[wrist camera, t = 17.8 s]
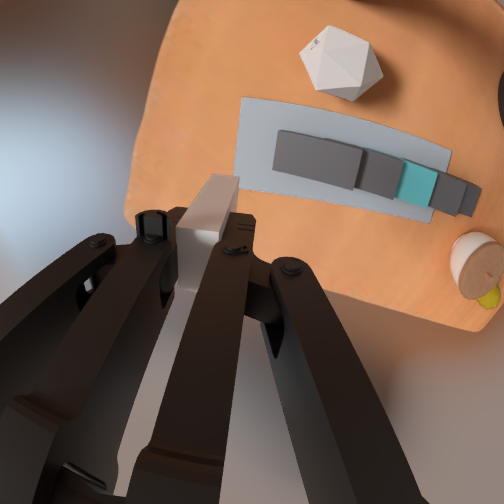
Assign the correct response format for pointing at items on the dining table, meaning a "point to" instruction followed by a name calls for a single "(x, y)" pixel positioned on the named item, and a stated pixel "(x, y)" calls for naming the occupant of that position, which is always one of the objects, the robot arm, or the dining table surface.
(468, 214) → the domino
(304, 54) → the die
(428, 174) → the teal domino
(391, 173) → the domino
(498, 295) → the lemon
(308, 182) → the mat
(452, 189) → the domino
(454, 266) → the lidded jar
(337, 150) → the domino
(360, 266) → the dining table surface
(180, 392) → the robot arm
